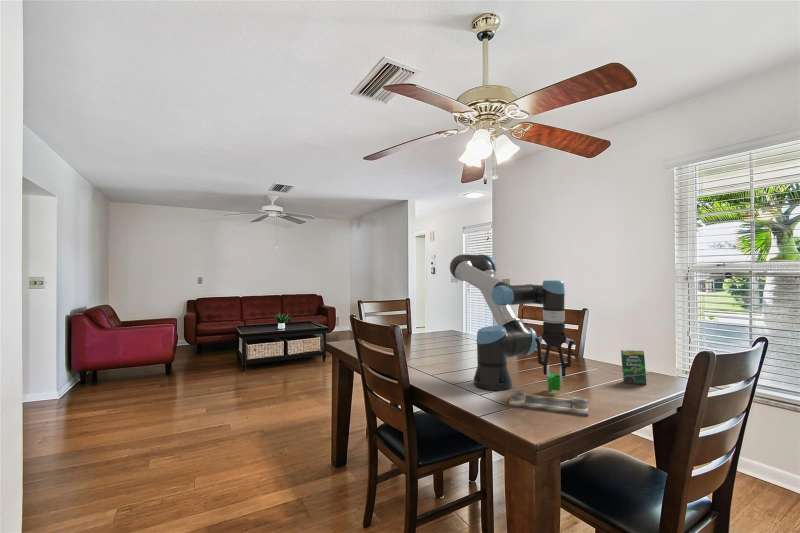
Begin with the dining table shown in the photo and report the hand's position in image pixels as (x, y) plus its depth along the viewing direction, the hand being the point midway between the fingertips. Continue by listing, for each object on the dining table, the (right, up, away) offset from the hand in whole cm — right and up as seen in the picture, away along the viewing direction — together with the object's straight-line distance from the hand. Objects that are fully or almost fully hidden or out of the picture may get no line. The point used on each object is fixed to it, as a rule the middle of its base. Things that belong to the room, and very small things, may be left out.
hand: (554, 384), depth 136 cm
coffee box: (+37, -4, +12) cm, 39 cm away
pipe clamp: (0, -2, 0) cm, 2 cm away
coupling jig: (-7, -3, -13) cm, 15 cm away
